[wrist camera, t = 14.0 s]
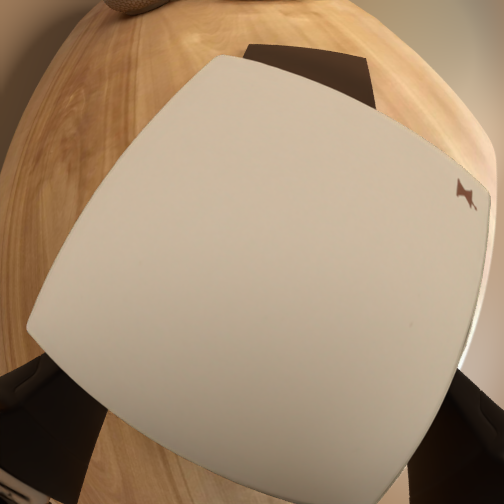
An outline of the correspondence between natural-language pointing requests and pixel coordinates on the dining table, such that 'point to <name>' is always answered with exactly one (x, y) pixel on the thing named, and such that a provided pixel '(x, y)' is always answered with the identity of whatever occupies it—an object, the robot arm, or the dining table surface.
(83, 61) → the dining table surface
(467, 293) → the white packaging box
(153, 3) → the planter
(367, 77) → the board
